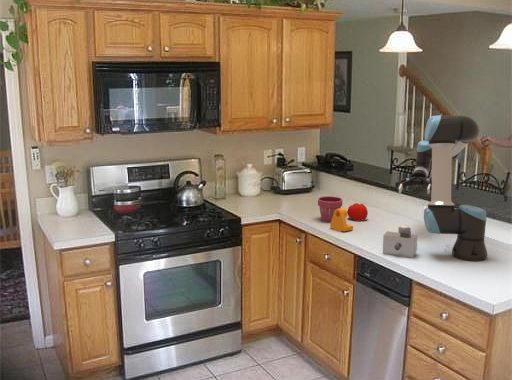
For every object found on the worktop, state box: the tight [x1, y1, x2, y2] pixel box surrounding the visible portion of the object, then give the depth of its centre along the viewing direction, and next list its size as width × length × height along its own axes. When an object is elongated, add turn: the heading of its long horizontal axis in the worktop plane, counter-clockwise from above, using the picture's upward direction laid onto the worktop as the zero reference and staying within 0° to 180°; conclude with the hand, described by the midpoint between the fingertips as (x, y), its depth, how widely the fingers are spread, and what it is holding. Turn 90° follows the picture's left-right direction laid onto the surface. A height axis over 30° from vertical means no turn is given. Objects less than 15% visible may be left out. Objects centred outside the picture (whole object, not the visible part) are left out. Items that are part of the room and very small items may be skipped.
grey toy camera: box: [382, 230, 418, 259], centre depth 251 cm, size 14×20×11 cm
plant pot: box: [317, 195, 343, 223], centre depth 306 cm, size 14×14×13 cm
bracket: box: [329, 207, 354, 232], centre depth 288 cm, size 11×7×12 cm, turn 36°
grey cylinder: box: [397, 224, 412, 233], centre depth 255 cm, size 6×6×11 cm
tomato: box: [347, 202, 369, 222], centre depth 308 cm, size 11×12×9 cm
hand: (413, 191), depth 259 cm, fingers open, 13 cm apart
